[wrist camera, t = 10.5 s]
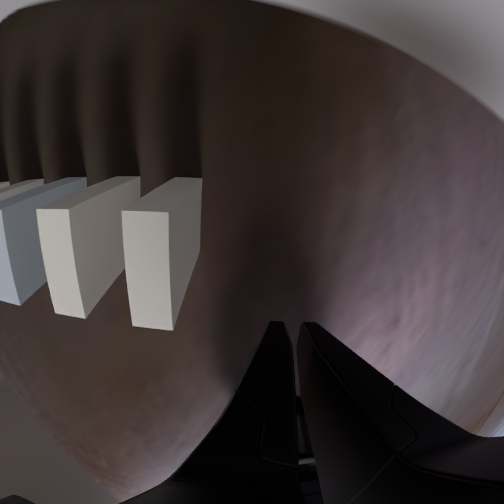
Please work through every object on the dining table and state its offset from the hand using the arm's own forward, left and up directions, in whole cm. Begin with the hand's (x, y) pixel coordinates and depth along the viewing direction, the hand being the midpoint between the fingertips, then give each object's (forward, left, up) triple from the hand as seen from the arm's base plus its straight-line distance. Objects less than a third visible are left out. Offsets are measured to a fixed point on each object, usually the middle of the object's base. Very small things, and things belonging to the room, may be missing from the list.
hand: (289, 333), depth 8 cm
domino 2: (+9, 0, -12) cm, 15 cm away
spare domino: (+13, 0, -12) cm, 18 cm away
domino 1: (+5, 0, -12) cm, 13 cm away
